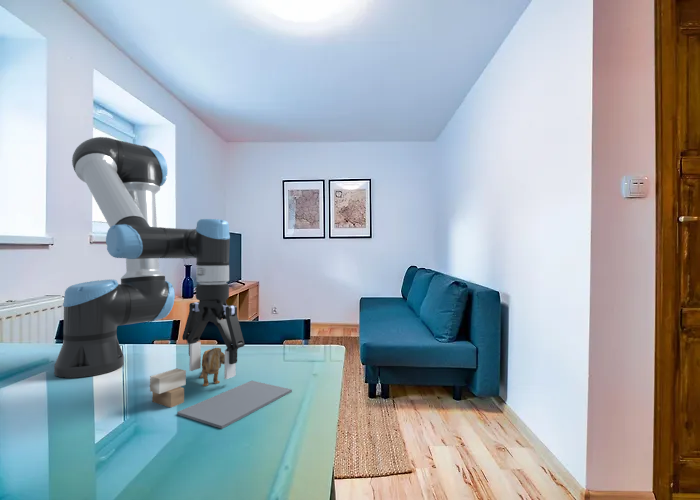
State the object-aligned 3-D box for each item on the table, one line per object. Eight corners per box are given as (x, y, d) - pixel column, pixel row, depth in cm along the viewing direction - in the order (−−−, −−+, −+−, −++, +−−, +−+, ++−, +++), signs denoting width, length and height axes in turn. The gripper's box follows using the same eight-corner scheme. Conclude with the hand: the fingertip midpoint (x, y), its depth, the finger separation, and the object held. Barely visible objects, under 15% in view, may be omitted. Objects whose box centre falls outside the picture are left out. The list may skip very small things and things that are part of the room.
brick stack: (145, 404, 75) (145, 375, 75) (171, 394, 80) (172, 367, 80) (164, 410, 72) (164, 380, 72) (190, 400, 77) (190, 371, 77)
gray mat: (177, 414, 70) (177, 411, 70) (251, 382, 87) (251, 380, 87) (221, 428, 64) (221, 426, 64) (291, 391, 82) (291, 389, 82)
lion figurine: (230, 386, 85) (230, 348, 85) (206, 391, 82) (206, 351, 82) (213, 370, 97) (213, 336, 97) (191, 374, 94) (192, 339, 94)
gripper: (167, 282, 91) (166, 369, 91) (237, 286, 80) (236, 386, 79) (193, 280, 97) (192, 362, 97) (260, 284, 86) (260, 376, 86)
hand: (212, 373), depth 88 cm, fingers open, 11 cm apart
